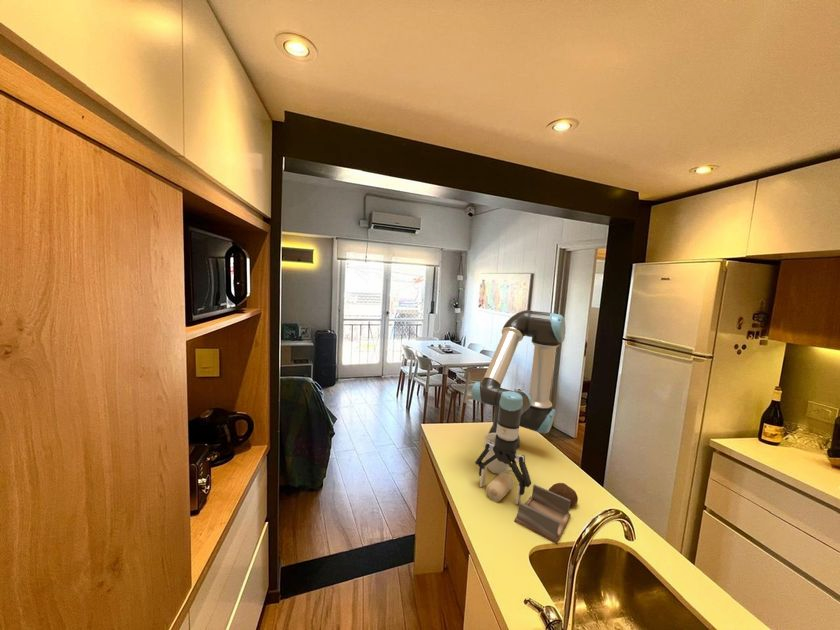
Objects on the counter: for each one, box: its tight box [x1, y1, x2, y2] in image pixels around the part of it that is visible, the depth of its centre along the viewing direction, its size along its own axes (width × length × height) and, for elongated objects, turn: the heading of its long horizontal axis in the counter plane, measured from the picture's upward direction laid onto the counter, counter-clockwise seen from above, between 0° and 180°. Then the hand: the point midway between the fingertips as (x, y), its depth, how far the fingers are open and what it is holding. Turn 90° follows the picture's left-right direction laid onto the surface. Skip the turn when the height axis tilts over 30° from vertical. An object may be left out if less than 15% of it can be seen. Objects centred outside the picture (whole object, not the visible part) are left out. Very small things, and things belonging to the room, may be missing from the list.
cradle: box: [514, 483, 572, 544], centre depth 108 cm, size 16×13×6 cm
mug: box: [483, 432, 518, 475], centre depth 134 cm, size 15×11×13 cm
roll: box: [485, 472, 515, 502], centre depth 119 cm, size 10×6×6 cm, turn 143°
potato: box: [548, 482, 579, 507], centre depth 118 cm, size 7×10×7 cm
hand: (499, 493), depth 120 cm, fingers open, 13 cm apart
